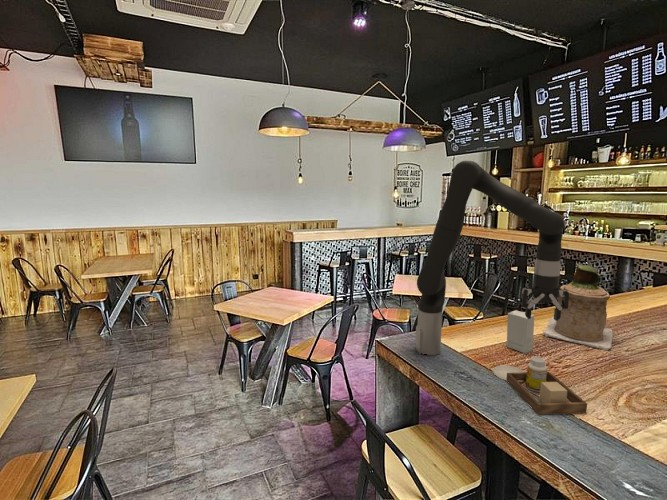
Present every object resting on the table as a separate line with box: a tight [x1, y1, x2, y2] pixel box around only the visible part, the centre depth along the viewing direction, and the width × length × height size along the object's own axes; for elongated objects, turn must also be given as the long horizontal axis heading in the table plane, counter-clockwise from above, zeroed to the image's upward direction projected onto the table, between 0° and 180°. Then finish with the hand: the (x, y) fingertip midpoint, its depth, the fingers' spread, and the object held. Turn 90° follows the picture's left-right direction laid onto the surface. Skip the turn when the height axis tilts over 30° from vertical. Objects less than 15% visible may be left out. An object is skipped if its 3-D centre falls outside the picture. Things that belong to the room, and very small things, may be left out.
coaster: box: [492, 364, 525, 384], centre depth 133 cm, size 11×11×1 cm
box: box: [538, 381, 567, 403], centre depth 115 cm, size 5×5×6 cm
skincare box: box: [506, 310, 535, 354], centre depth 152 cm, size 8×6×15 cm
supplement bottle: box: [525, 356, 548, 393], centre depth 123 cm, size 6×6×10 cm
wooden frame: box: [506, 371, 588, 415], centre depth 119 cm, size 15×19×3 cm
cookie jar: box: [543, 263, 614, 352], centre depth 163 cm, size 25×25×32 cm
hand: (542, 319), depth 128 cm, fingers open, 8 cm apart
